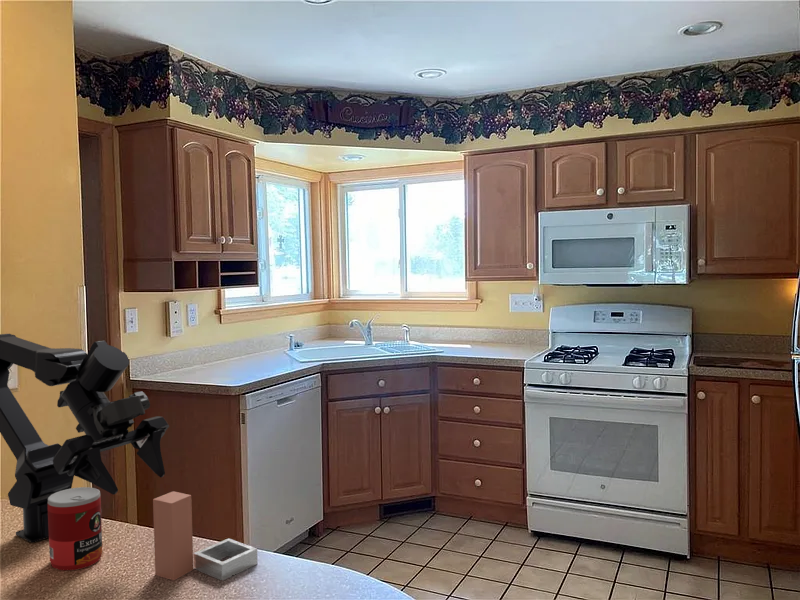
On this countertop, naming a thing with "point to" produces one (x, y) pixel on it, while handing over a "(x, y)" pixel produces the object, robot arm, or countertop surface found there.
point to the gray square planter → (239, 562)
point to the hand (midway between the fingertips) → (140, 483)
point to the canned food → (74, 528)
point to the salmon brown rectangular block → (173, 535)
